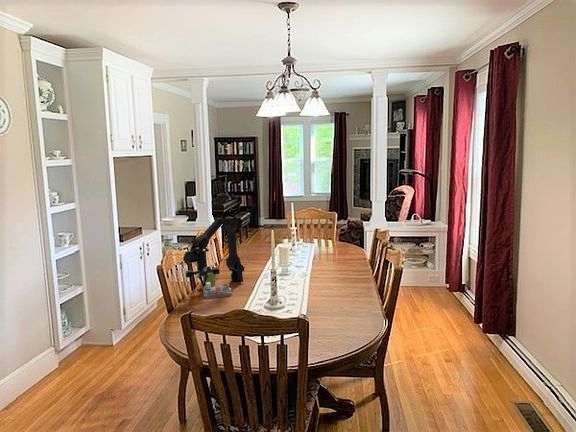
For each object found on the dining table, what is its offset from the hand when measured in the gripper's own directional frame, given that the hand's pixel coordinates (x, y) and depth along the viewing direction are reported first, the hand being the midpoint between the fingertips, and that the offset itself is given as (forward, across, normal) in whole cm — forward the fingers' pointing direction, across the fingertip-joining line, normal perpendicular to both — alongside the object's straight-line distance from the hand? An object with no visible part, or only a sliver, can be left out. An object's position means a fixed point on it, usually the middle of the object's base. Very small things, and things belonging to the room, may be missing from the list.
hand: (203, 286), depth 260 cm
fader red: (+1, +7, -9) cm, 12 cm away
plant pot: (+3, +4, +11) cm, 12 cm away
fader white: (+1, +3, 0) cm, 3 cm away
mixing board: (+3, +7, -5) cm, 9 cm away
